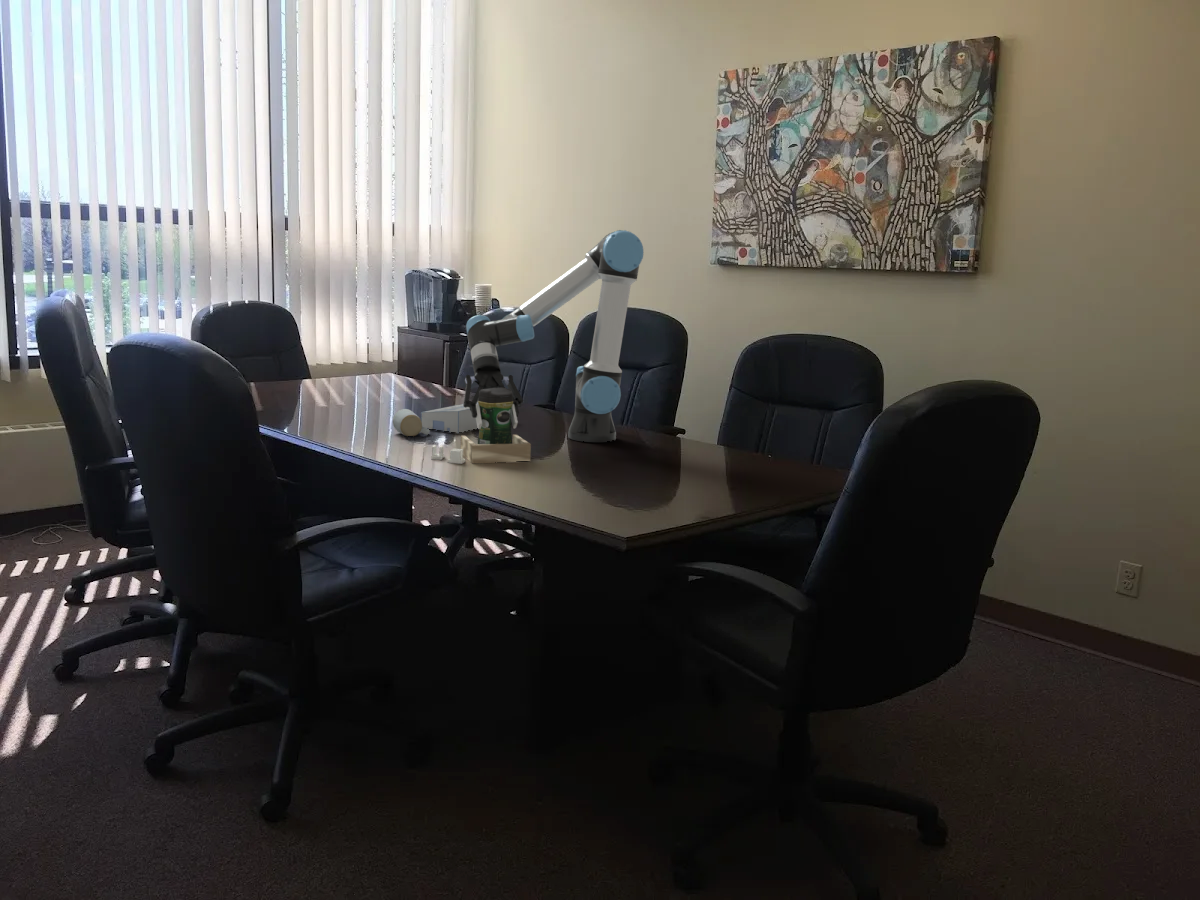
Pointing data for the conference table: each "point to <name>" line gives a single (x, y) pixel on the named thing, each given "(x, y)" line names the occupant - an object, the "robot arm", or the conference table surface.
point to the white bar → (449, 419)
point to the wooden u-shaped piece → (496, 451)
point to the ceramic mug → (408, 423)
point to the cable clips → (455, 455)
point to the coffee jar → (495, 416)
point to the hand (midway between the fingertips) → (497, 425)
